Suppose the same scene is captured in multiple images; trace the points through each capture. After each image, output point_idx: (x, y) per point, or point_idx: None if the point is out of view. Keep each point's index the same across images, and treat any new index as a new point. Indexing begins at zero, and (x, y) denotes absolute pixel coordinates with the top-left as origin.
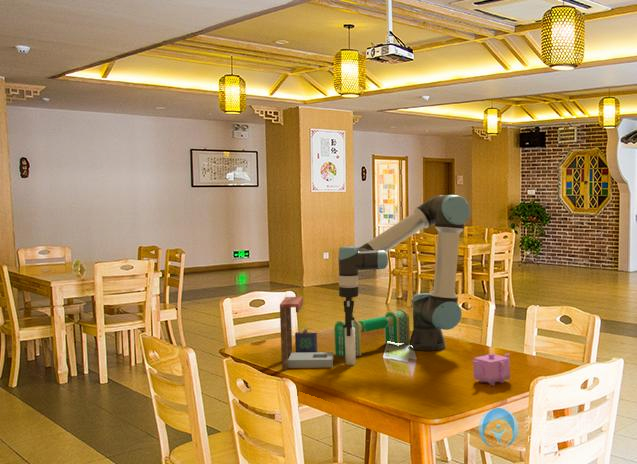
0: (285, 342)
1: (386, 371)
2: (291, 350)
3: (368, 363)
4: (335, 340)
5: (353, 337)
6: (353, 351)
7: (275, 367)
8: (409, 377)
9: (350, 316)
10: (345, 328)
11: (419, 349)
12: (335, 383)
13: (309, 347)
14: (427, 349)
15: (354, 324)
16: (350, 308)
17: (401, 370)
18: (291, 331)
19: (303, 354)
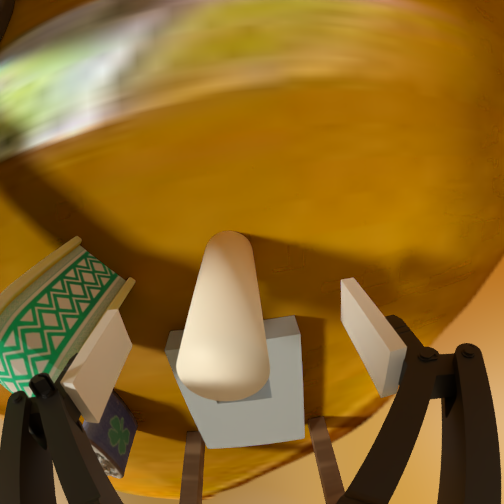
0: (341, 483)
1: (347, 78)
2: (200, 453)
3: (211, 172)
4: None
5: (248, 301)
6: (247, 261)
7: (295, 440)
8: (411, 11)
9: (489, 421)
10: (394, 384)
11: (2, 33)
12: (474, 257)
13: (118, 418)
14: (11, 6)
15: (5, 338)
16: (494, 502)
17: (322, 19)
18: (184, 502)
19: (225, 425)
